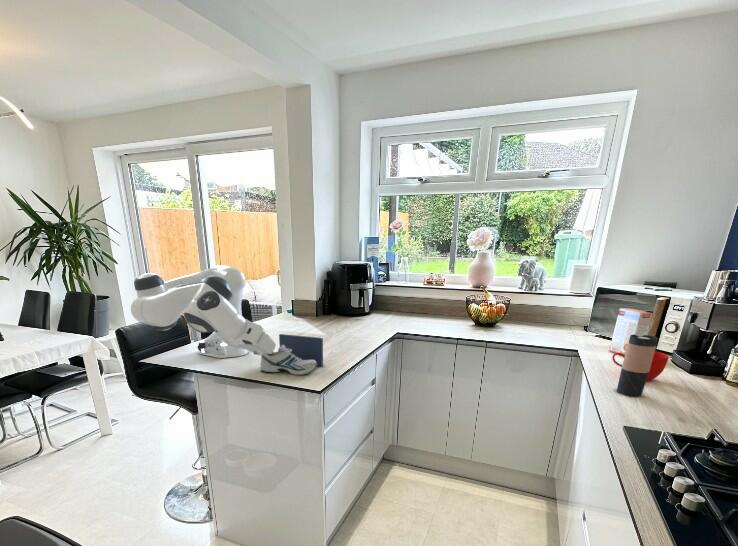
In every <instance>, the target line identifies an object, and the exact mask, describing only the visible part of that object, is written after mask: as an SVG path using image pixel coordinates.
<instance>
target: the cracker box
mask: <svg viewBox="0 0 738 546" xmlns="http://www.w3.org/2000/svg"><path fill="white" fill-rule="evenodd" d="M653 316H654V313H653V312H649V311H645V310H642V309H641V310H640V309H635V308H629V307H621V308H619V309H618V313H617V318H616V322H615V327H614V330H613V333H612V338H611V342H610V346H609V350H608V352H611V353H613V354H615V353H622V354H624V355H625V354H626V350H627V346H628V343H629V339H630V336H631V335H636V336H644V335H649V334H648V333H649V330H650V327H651V323H652V321H653V320H652V319H653Z"/></svg>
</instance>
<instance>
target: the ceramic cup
mask: <svg viewBox="0 0 738 546" xmlns="http://www.w3.org/2000/svg"><path fill="white" fill-rule="evenodd" d="M617 355H619V356H620V357H621V356H622V358H624V357H625V355H624V354H622V353H613V354H612V358H611V359H612V362H613V363H614V364H615V365H617V366H619V367H621V368H622V365H623V364H621V363H619V362H618V361H616V358H615V357H616V356H617ZM669 358H670V356H669V355H668V354H666V353H663V352H660V351H656V350H655V352H654V356H653V360H652V363H651V367H650V371H649V374H648V377H647V380H646V382H651V381H652V380H654V379H656V378H658V377H659V376H660V375H661V374H662V373H663V372H664V370H665V369H666V366H667V364H668V361H669Z"/></svg>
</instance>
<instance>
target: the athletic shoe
mask: <svg viewBox="0 0 738 546" xmlns="http://www.w3.org/2000/svg"><path fill="white" fill-rule="evenodd" d="M289 350H290V351H289ZM317 367H318V366H317V362H316V361H315V360H302V359H301V358H300V359H299V357H297V356H295V355H294V354H293V353H292V349H289V348H287V349H286V346H285V345H281V346H280V345H279V347H278V350H277V351H273V353H272V354H268V353H263V354H262V356H260V367H259V369H260V371H261V372H265V373H269V374H276V373H277V374H278V373H281V372H282V371H285V372H287V373H288V374H290V375H293V376H304V375H307V374H309V373H312V372H313V371H314V370H315V369H316V368H317Z"/></svg>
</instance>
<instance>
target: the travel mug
mask: <svg viewBox="0 0 738 546" xmlns="http://www.w3.org/2000/svg"><path fill="white" fill-rule="evenodd" d="M658 341H659V338H658V337H656V336H655V335H654V336H653V335H649V334H647V335H644V336H636V335H631V336H630V339H629V343H628V346H627V350H626V354H625V357H623V361H622V364H621V365H622V367H621V369H620V372H619V373H620V374H619V377H618V378H619V379H618V383H617V386H616V387H617V388H616V392H617V393H618V394H620V395H622V396H627V397H631V398H639V397H642V395H643V393H644V390H645V387H646V383H647V381H646V380H647V377H648V374H649V371H650V367H651V363H652V360H653V356H654V352H655V351H656V348H657V344H658Z"/></svg>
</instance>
